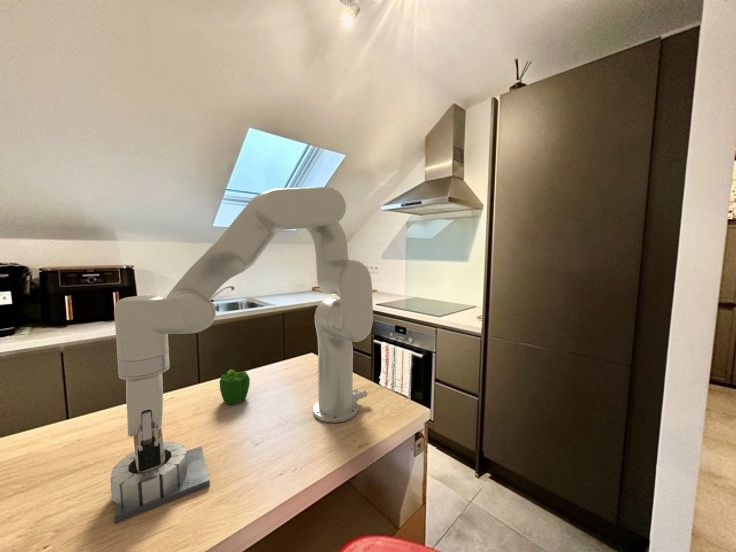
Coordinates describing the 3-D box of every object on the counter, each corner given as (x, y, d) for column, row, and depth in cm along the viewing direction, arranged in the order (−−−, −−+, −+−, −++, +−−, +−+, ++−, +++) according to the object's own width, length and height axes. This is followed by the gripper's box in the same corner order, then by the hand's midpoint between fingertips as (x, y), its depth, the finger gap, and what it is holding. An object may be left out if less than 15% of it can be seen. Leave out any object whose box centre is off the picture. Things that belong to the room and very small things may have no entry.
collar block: (201, 451, 68) (200, 429, 67) (209, 485, 58) (208, 460, 57) (116, 479, 59) (114, 454, 59) (109, 525, 49) (107, 496, 49)
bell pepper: (238, 391, 96) (237, 360, 95) (255, 398, 92) (254, 366, 91) (212, 402, 89) (211, 369, 88) (230, 410, 85) (229, 376, 84)
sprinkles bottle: (146, 472, 59) (139, 408, 58) (171, 469, 60) (165, 405, 59) (132, 491, 55) (124, 422, 53) (159, 487, 56) (152, 419, 54)
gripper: (122, 354, 60) (127, 438, 62) (112, 387, 46) (120, 495, 48) (167, 347, 65) (171, 426, 66) (171, 375, 50) (176, 475, 52)
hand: (150, 454), depth 57 cm, fingers open, 7 cm apart
